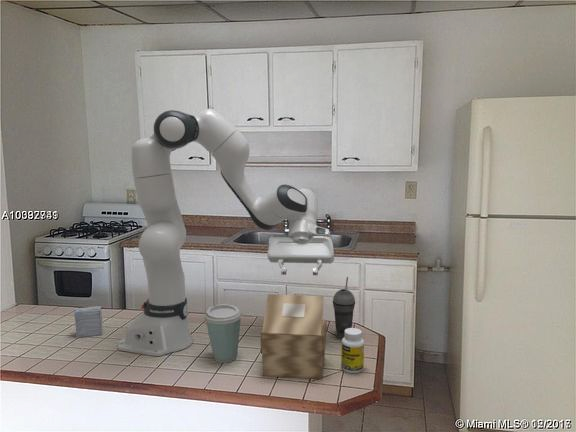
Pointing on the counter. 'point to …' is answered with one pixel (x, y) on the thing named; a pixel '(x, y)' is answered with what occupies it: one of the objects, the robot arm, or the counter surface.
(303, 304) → the lid flap
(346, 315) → the beverage cup
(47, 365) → the counter surface
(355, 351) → the pill bottle
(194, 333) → the counter surface
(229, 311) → the disposable coffee cup
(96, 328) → the grey upright block
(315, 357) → the cardboard carton
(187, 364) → the counter surface
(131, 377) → the counter surface
